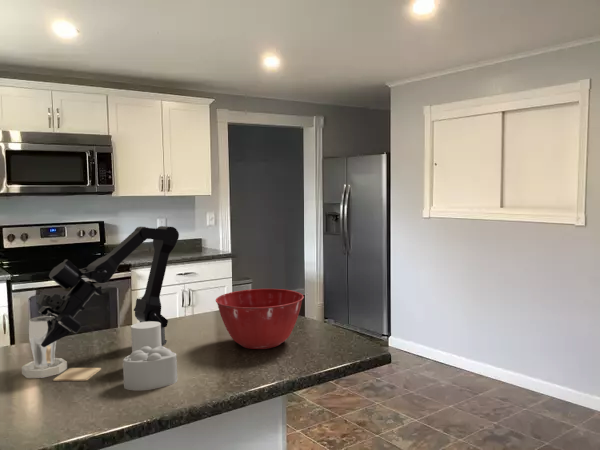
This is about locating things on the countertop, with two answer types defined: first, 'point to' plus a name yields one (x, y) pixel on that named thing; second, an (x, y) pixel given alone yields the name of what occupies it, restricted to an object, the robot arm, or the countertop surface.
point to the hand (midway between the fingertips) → (38, 343)
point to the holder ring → (41, 373)
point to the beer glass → (37, 334)
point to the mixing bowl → (260, 316)
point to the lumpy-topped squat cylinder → (150, 368)
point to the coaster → (77, 374)
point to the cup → (146, 335)
